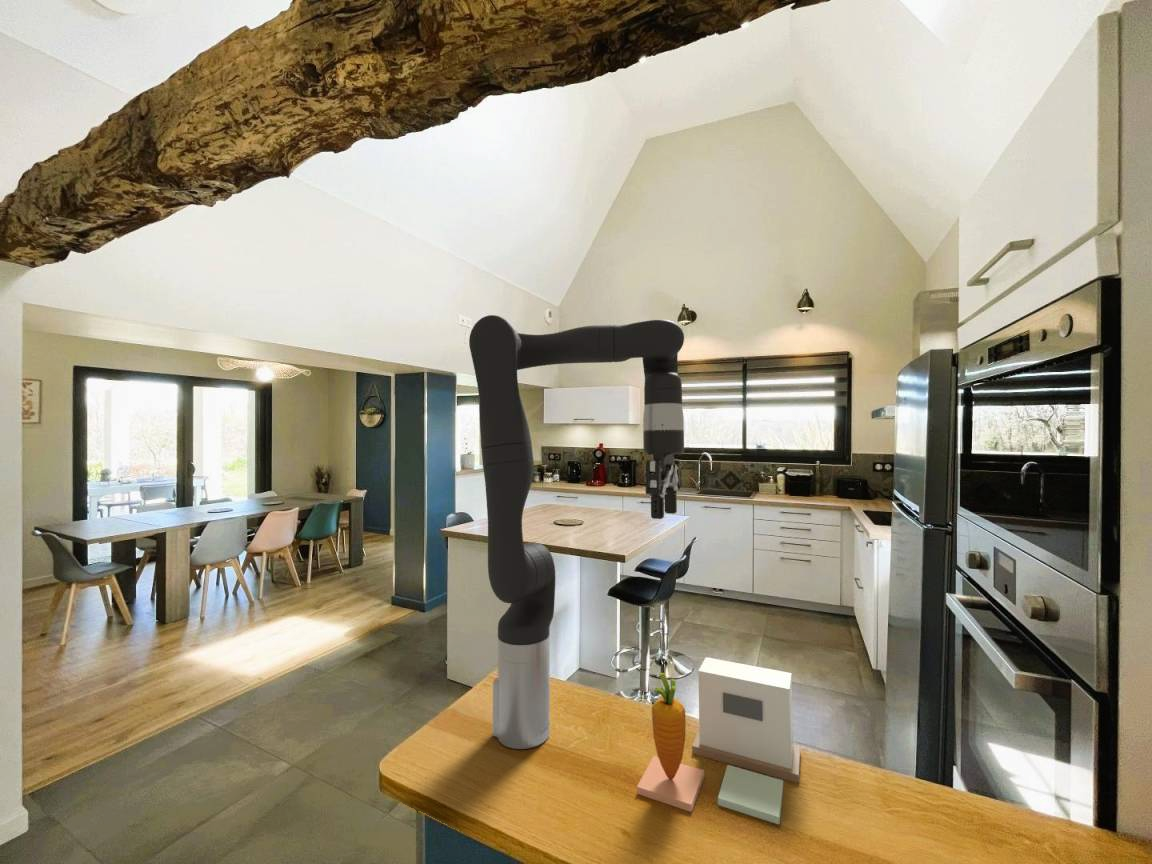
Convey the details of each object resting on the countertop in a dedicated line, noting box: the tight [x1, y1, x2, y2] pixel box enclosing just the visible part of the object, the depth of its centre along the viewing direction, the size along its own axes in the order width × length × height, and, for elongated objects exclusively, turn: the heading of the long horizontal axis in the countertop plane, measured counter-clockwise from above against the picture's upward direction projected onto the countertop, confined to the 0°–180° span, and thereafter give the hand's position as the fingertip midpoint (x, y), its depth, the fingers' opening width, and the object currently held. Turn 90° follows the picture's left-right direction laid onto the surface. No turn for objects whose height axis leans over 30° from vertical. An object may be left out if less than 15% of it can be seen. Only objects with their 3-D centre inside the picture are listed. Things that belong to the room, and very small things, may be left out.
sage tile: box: [717, 764, 784, 826], centre depth 69 cm, size 8×8×1 cm
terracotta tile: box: [636, 755, 705, 813], centre depth 71 cm, size 8×8×1 cm
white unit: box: [691, 656, 801, 784], centre depth 79 cm, size 16×8×13 cm, turn 63°
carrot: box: [651, 672, 687, 780], centre depth 71 cm, size 5×5×15 cm
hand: (664, 515), depth 89 cm, fingers open, 8 cm apart
